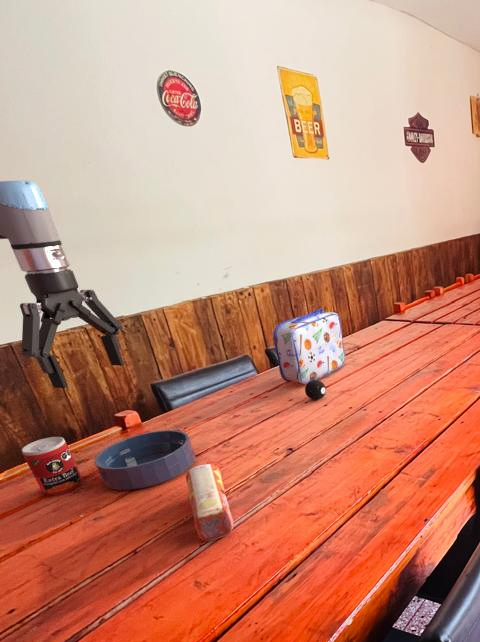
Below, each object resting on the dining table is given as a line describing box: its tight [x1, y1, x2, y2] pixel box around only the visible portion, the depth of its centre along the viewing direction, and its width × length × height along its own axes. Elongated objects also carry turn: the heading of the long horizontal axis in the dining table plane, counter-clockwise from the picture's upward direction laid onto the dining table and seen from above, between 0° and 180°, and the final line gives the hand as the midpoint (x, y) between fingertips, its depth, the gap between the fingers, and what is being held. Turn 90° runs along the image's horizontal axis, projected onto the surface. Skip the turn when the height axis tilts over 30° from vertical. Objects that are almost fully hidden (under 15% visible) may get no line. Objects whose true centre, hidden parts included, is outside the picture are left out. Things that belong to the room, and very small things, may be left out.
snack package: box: [185, 463, 234, 542], centre depth 103 cm, size 21×7×7 cm, turn 31°
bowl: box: [94, 429, 197, 491], centre depth 121 cm, size 19×19×6 cm
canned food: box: [21, 436, 83, 496], centre depth 115 cm, size 8×8×11 cm
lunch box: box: [272, 308, 346, 385], centre depth 174 cm, size 28×10×22 cm, turn 159°
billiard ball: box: [304, 379, 327, 400], centre depth 157 cm, size 6×6×6 cm
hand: (91, 375), depth 107 cm, fingers open, 13 cm apart
